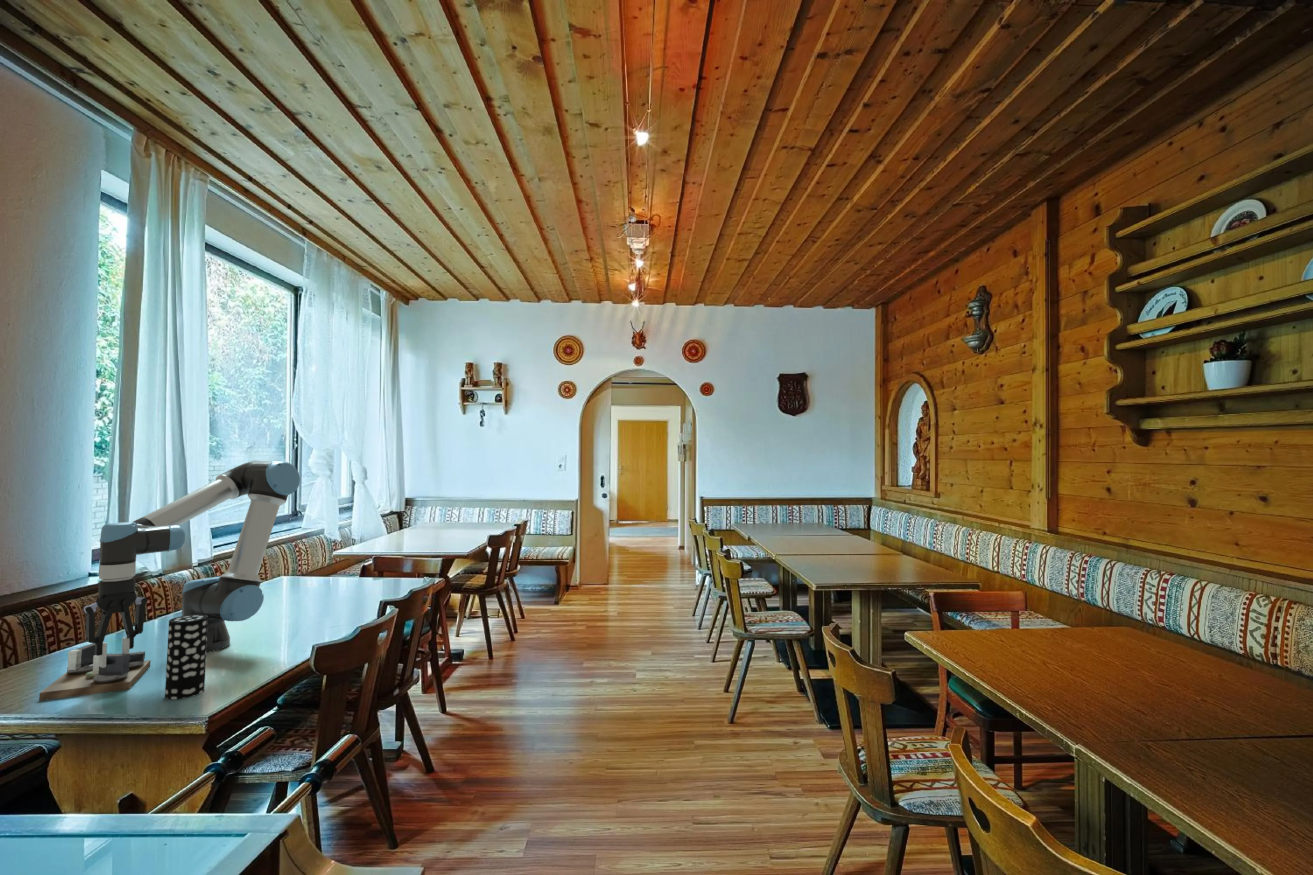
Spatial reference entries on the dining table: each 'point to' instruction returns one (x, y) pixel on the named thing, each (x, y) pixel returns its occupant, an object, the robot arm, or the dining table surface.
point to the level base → (89, 684)
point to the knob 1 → (81, 660)
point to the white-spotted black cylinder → (186, 656)
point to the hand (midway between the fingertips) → (114, 663)
